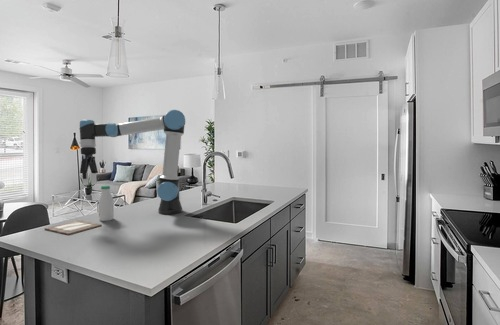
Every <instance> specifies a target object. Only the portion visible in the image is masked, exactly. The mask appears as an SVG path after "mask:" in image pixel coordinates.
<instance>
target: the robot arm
mask: <svg viewBox="0 0 500 325" xmlns="http://www.w3.org/2000/svg"><path fill="white" fill-rule="evenodd" d="M185 125H186V116H185V115H184V113H183V112H182V111H180V110H177V109H171V110H169V111H167V112H166V113H165V115H161V117H157V118H151V119H142V120H136V121H127V122H123V123H113V122H108V123H107V122H105V123H95V120H93V119H82V120H80V122H79V139H80V140H79V144H80V147H81V148H80V154H81V161H80V162H81V163H80V167H79V168H80V170H79V173H80V174H81V178H82V186H89V172H88V171H89V169H90V179H91V180H90V183H91V185H97V184H98V182H97V181H98V180H97V179H98V178H97V174H98V172H99V171H98V167H97V163H96V156H95V155H96V154H97V150H96V147H97V145H96V137H98V138H99V137H108V138H109V137H111V138H117V137H121V136H127V135H134V134H135V135H137V134H142V133H148V132H155V131H161V130H162V131H163V132H164V133H165V143H164V145H165V146H164V153H163V162H162V163H163V165H162V173H161V175H160V176H159V179H158V180H159V181H158V187H157V189H156V190H157V191H156V193H157V196H158V198H160V203H159V207H158V211H157V212H158V213H159V214H161V215H175V214H179V213H180V214H181V213H182V212H183V206H182V204H181V200H180V178H179V176H178V170H179V159H180V148H181V139H182V138H181V137H182V136H183V135H184V133H185ZM93 155H94V156H93Z"/></svg>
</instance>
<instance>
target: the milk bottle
mask: <svg viewBox="0 0 500 325" xmlns="http://www.w3.org/2000/svg"><path fill="white" fill-rule="evenodd" d="M110 189H111V186H110V185H101V187H100V191H101V193H100V195H99V198H98V217H99V221H100V222H108V221H113V220H114V219H115V214H114V213H115V211H114V198H113V196H112V193H111V190H110Z"/></svg>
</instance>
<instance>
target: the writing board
mask: <svg viewBox="0 0 500 325" xmlns="http://www.w3.org/2000/svg"><path fill="white" fill-rule="evenodd" d="M99 227H102V224H100V223H95V222H91V221H85V220H78V219H77V220H74V221H73V220H72V221H69V222H65V223H61V224H55V225H53V226H48V227H45V228H44V231H49V232H53V233H58V234H61V235H65V236H70V235H74V234H78V233H81V232H84V231H87V230H91V229H94V228H99Z"/></svg>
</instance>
